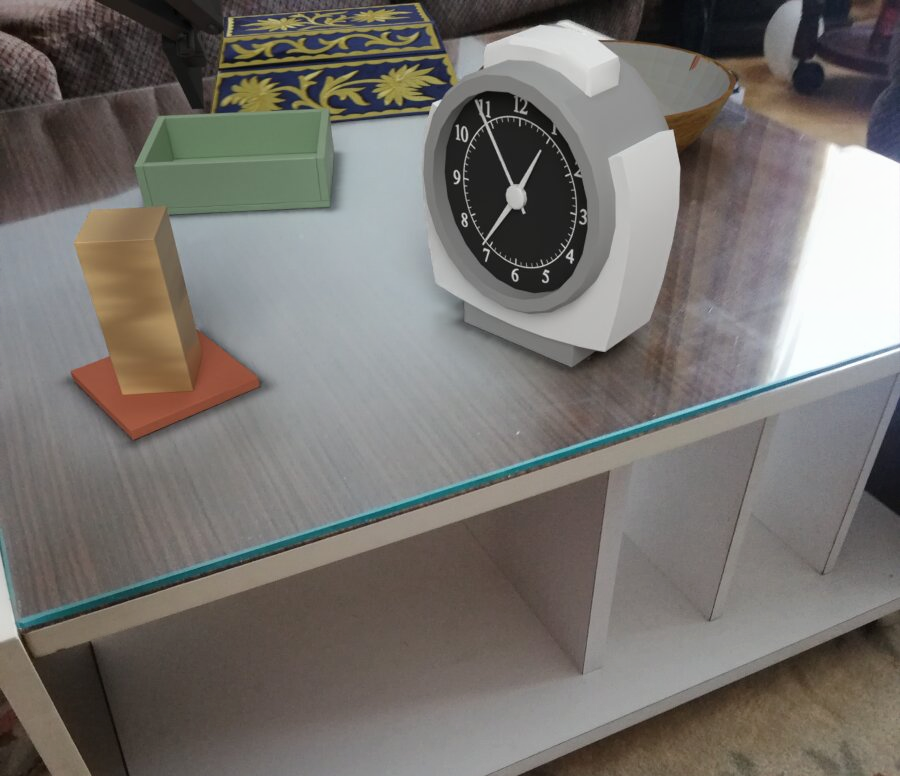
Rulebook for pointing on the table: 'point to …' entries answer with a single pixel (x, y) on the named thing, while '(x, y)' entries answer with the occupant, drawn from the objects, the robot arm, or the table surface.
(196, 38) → the robot arm
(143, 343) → the block
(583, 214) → the alarm clock
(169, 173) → the bin
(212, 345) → the mat
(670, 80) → the bowl
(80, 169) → the table surface
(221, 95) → the decorative box
